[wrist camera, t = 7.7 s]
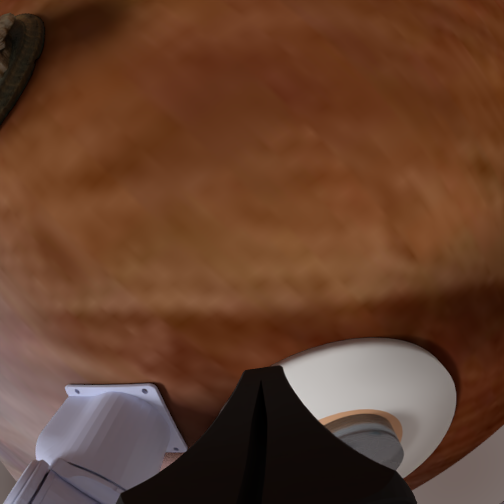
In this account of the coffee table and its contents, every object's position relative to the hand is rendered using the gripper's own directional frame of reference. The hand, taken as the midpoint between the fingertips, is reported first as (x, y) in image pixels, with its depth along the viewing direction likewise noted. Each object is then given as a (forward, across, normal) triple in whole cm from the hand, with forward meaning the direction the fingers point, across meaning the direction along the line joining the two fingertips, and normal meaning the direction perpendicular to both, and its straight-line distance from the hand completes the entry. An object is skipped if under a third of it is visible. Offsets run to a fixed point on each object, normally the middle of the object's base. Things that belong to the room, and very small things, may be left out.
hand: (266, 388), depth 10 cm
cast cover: (+7, -5, +14) cm, 17 cm away
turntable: (+9, -4, +15) cm, 18 cm away
